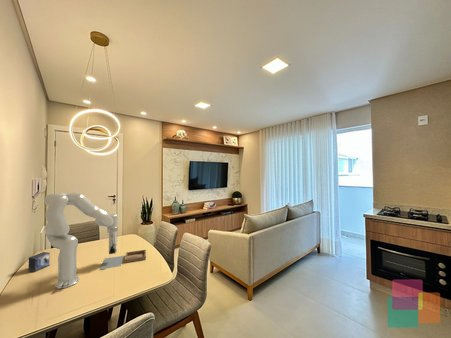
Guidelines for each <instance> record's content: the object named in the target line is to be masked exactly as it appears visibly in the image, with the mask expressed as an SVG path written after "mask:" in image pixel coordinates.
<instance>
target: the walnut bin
mask: <svg viewBox="0 0 451 338" xmlns="http://www.w3.org/2000/svg"><path fill="white" fill-rule="evenodd" d="M146 259H147V249H141V250H134V251H126V253H125V255H124V258H123V261H124V262H123V263H124V264H128V263H134V262H135V263H136V262H142V261H146Z"/></svg>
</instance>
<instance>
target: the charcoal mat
mask: <svg viewBox="0 0 451 338" xmlns="http://www.w3.org/2000/svg"><path fill="white" fill-rule="evenodd" d="M124 258H125V255H120V256H119V255H118V256H112V257H107V258H104V260H103V262H102V264H101V266H100V268H99V271H104V270H106V269H110V268H117V267H118V268H119V267H121V266H122V263H123V261H124Z"/></svg>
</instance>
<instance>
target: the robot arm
mask: <svg viewBox="0 0 451 338" xmlns="http://www.w3.org/2000/svg"><path fill="white" fill-rule="evenodd" d="M43 203H44V204H45V205H46V206H47V209H46V211H45V219H46V222H47V223H46V224H45V226H44V229H43V231H44V234H45V236H46V238H47V240H48V242H49V244H50V245H51V247H53V248H54V249H57V250H59V253H58V255H57V256H58V257H57V282H56V283H55V284H54V288H55V289H58V290H59V289H67V288H69V287H73V286H74V285H76V284H78V282H79V281H80V277H79V276H77V249H78V246H79V240H78V238H77V237H76V236H74V235H73V234H72V235H71V234H69V232H70V229H71V228H70V225H69V223H68V221H67V219H66V217H65V214H64V210H65V208H66V206H74V207H75V208H76V209H78V210H79V211H81V213H83V214H84V215H85V216H87V217H90V218H93V219H94V224H95V225H97V226H99V227H104V228H105V227H106V228H107V229H106V230H107V233H108V246H109V245H110V254H109V255H112V254H111V253H115V248H114V244H116V243H117V244H118V231H119V222H118V221H119V217H118V214H117V213H108V212H107V211H105V210H104V209H102V208H100V207H98V206H97V205H96V204H94V203H93V201H91V200H90V199H89V198H88V197H87V196H85V195H84V194H82V193H76V192H70V193H69V192H68V193H67V192H65V193H50V194H47V195H46V196H45V197H44V199H43ZM113 243H114V244H113ZM115 254H116V253H115Z"/></svg>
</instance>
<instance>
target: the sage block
mask: <svg viewBox="0 0 451 338" xmlns="http://www.w3.org/2000/svg"><path fill="white" fill-rule="evenodd" d="M113 244H114V243H113ZM114 248H115V253H111V254H110V245H109V244H108V255H114V254H117V251H118V242H117V243H116V244H114Z"/></svg>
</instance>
